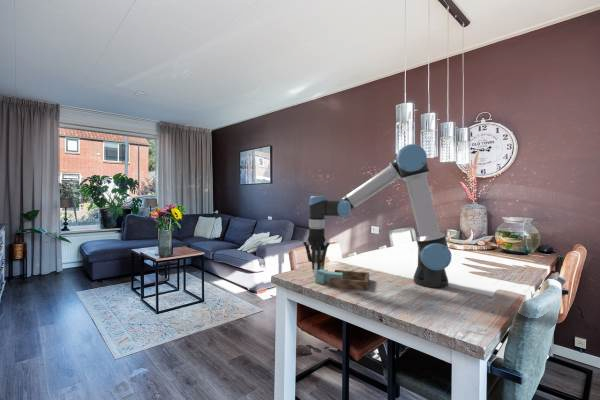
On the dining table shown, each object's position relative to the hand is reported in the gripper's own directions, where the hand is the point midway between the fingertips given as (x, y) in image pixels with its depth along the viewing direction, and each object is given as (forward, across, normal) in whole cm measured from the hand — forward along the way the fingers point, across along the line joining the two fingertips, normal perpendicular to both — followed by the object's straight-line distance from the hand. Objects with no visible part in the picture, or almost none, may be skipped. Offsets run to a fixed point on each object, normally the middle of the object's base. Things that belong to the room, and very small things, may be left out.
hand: (316, 276), depth 147 cm
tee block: (+2, -7, 0) cm, 7 cm away
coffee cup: (+2, +2, -14) cm, 14 cm away
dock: (+2, -16, 0) cm, 16 cm away
